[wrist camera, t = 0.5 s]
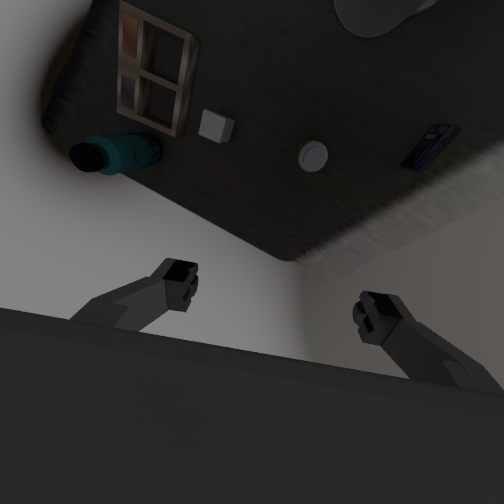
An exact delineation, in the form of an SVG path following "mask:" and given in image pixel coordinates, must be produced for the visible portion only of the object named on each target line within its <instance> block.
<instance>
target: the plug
mask: <svg viewBox="0 0 504 504" xmlns="http://www.w3.org/2000/svg"><path fill="white" fill-rule="evenodd" d="M234 123H235V120H233V119H231V118H229V117H226V116H224V115H222V114H220V113H217V112H214V111H210V110H206V109H204V111H203V115H202V120H201V125H200V129H199V135H202V136H204V137H206V138H208V139H211V140H213V141H215V142H218V143H222V142H226V141H229V140H230V137H231V133H232V130H233V126H234Z"/></svg>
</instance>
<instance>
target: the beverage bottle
mask: <svg viewBox="0 0 504 504" xmlns="http://www.w3.org/2000/svg"><path fill="white" fill-rule="evenodd" d="M69 155H70V158H71V161H72V162H73V164H74V165H75V166H76V167H77V168H78V169H80V170H81V171H84V172H96V171H98V172H100V173H102V174H105V175H114V174H117V173H121V172H124V171H129V170H134V169H137V168H140V167H143V168H144V166H149V165H152V164H153V165H154V163H155V164H156V162H157V161H158V159H159V157H160V148H159V145H158V143H157V142H156V141H155V140H154V139H153V138H152V137H151V136H150V135H147V134H143V133H128V134H115V135H91V136H89V137H88V138H87V139H86V141H85V143H80V144H76V145H73V146H72V147H71V148H70V150H69Z"/></svg>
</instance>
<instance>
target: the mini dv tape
mask: <svg viewBox="0 0 504 504" xmlns="http://www.w3.org/2000/svg"><path fill="white" fill-rule="evenodd" d="M461 130H462V129H461V128H459V127H458V126H456V125H433V126H432V127H431V128H430V130H429V131H428V132H427V133H426V134H425V136H424V137H423V138H422V139H421V140H420V142H419V143H418V144H417V145H416V146H415V148H414V149H413V150H412V151H411V153H410V154H409V155H408V156H407V157H406V159H405V160H404V161H403V162H402V163H401V165H400V166H402V167H403V168H405V169H407V170H410V171H413V172H417V173H420V174H422V173H423V172H424V171H425V170H426V169H427V168H428V167H429V166H430V164H431V163H432V162H433V161H434V160H435V159H436V158H437V157H438V156H439V154H440V153H441V152H442V151H443V150H444V149H445V148H446V147H447V146H448V144H449V143H450V142H451V141H452V140H453V139H454V138H455V137H456V136H457V134H458V133H459V132H460V131H461Z"/></svg>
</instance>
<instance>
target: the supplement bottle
mask: <svg viewBox="0 0 504 504" xmlns="http://www.w3.org/2000/svg"><path fill="white" fill-rule="evenodd" d="M296 158H297V161H298V163H299V165H300V166H301V168H302V169H303V170H305V171H307V172H316V171H318V170H320V169H321V168H322V167H323V166H324V165H325V163H326V161H327V158H328V152H327V149H326V147H325V146H324V145H323V144H322V143H321V142H318V141H315V140H306V141H304V142H302V143H301V144H300V145H299V147H298V149H297V152H296Z"/></svg>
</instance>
